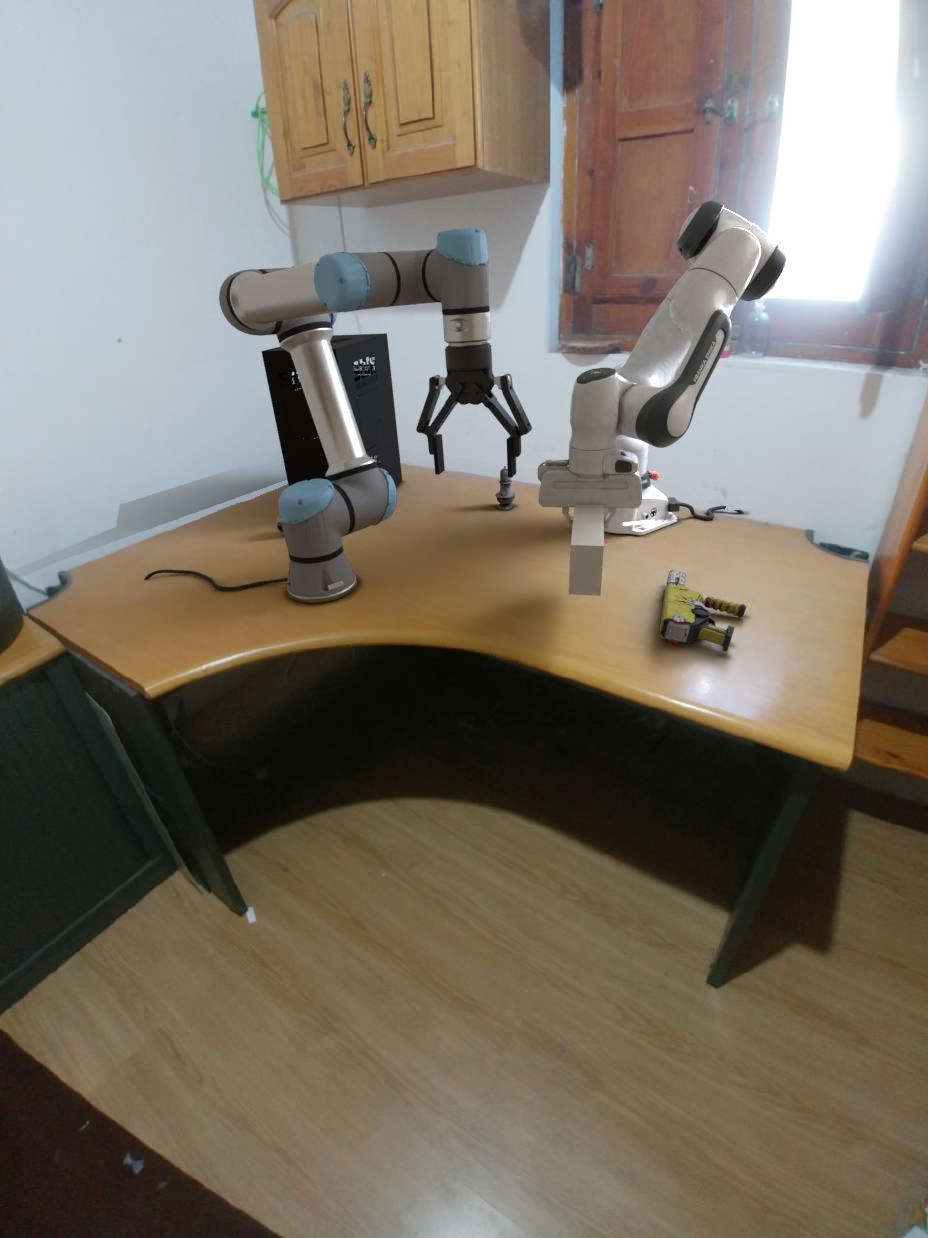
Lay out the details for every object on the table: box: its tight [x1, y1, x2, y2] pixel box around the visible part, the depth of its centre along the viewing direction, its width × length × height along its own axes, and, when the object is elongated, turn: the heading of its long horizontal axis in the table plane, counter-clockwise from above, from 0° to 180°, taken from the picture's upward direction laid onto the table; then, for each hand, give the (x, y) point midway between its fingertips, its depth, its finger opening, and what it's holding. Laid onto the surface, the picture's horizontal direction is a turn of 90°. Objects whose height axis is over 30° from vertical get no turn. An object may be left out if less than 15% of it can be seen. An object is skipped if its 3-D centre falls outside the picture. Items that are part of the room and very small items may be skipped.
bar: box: [568, 505, 605, 597], centre depth 115 cm, size 25×6×10 cm, turn 169°
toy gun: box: [659, 569, 747, 652], centre depth 114 cm, size 5×24×15 cm
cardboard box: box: [260, 333, 403, 488], centre depth 177 cm, size 38×20×45 cm, turn 167°
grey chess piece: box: [495, 465, 517, 511], centre depth 172 cm, size 6×6×12 cm
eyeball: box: [275, 515, 284, 535], centre depth 163 cm, size 6×6×6 cm
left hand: (475, 474), depth 107 cm, fingers open, 13 cm apart
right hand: (588, 527), depth 123 cm, fingers closed on bar, 5 cm apart
